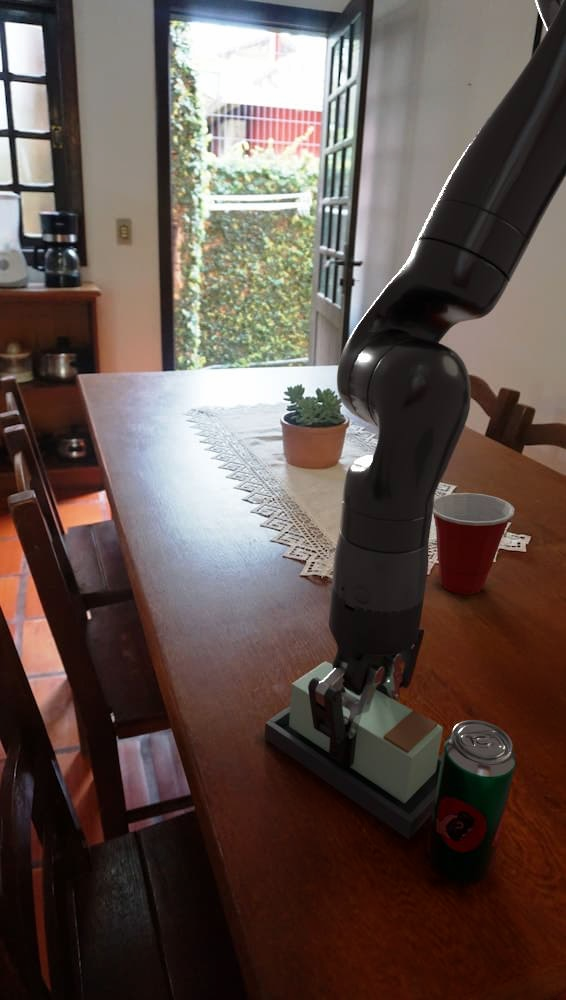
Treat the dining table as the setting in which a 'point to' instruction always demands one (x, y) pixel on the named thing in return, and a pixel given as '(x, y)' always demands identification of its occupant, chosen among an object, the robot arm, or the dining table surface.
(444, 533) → the plastic cup
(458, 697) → the dining table surface
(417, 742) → the pencil box
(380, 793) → the tray
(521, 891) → the dining table surface
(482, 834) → the soda can
